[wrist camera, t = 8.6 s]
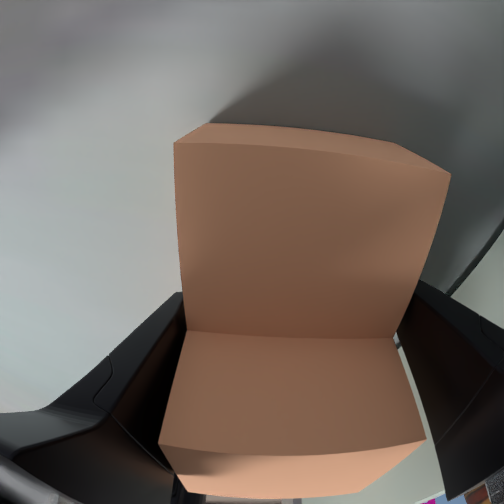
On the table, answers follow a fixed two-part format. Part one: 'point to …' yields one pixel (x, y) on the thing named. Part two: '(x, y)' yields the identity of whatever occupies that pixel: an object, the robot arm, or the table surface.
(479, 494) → the ceramic pitcher
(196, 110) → the table surface
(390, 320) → the tan stair step
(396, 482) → the door
